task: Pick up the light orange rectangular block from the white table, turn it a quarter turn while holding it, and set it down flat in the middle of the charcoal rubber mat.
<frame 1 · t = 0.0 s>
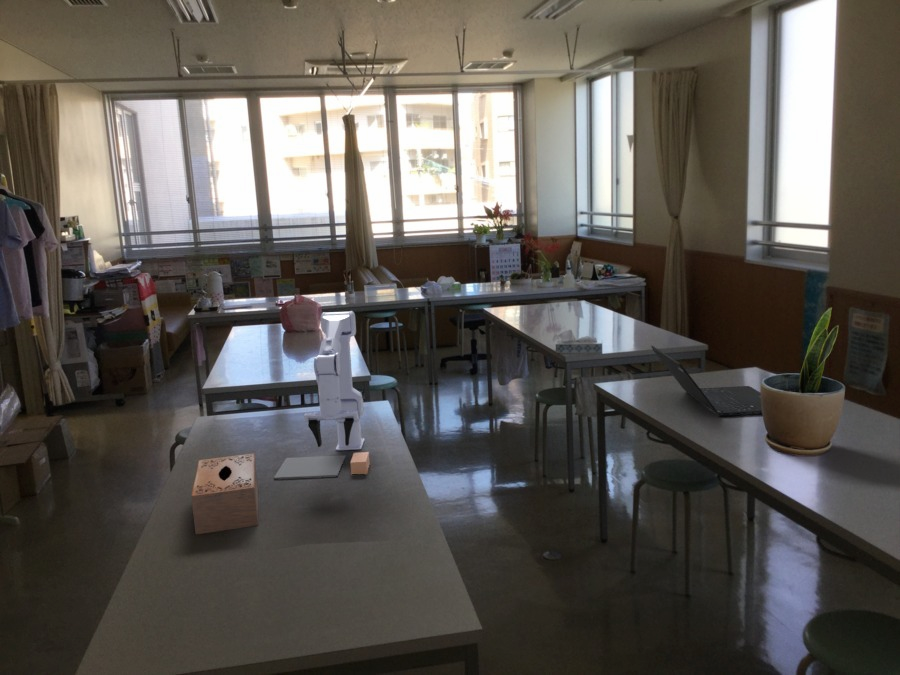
hand: (333, 445, 203), 10 cm above the table, tool pointing down, fingers open, 7 cm apart
laptop: (716, 404, 259), on the table
mat: (311, 468, 214), on the table
light orange rectangular block: (360, 470, 211), on the table
potted plant: (799, 448, 212), on the table
tissue box cover: (229, 510, 188), on the table
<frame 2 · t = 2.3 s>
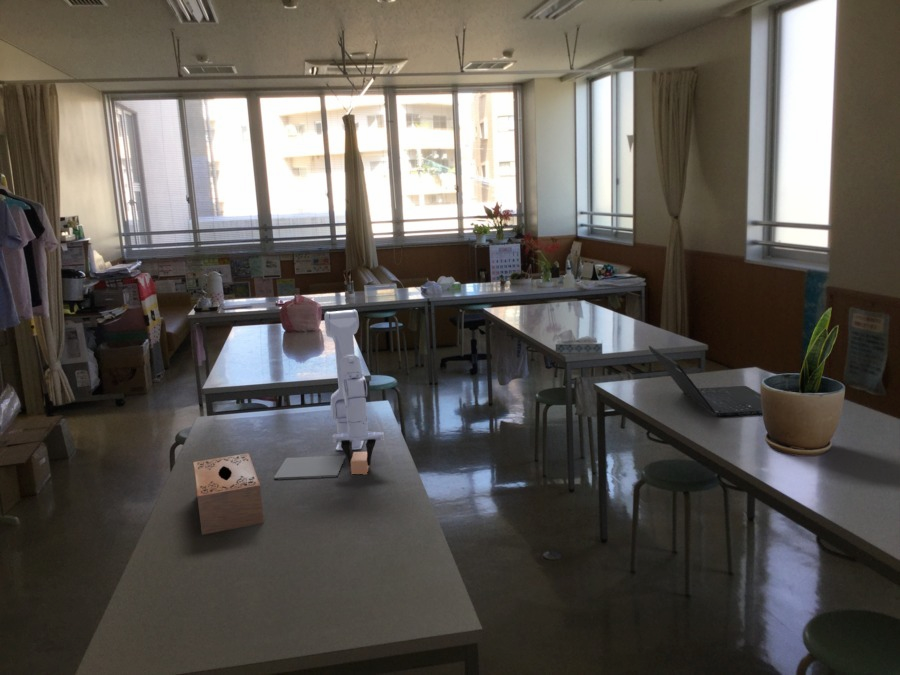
hand: (360, 464, 211), 1 cm above the table, tool pointing down, fingers closed on light orange rectangular block, 4 cm apart
light orange rectangular block: (360, 469, 211), on the table, touching gripper
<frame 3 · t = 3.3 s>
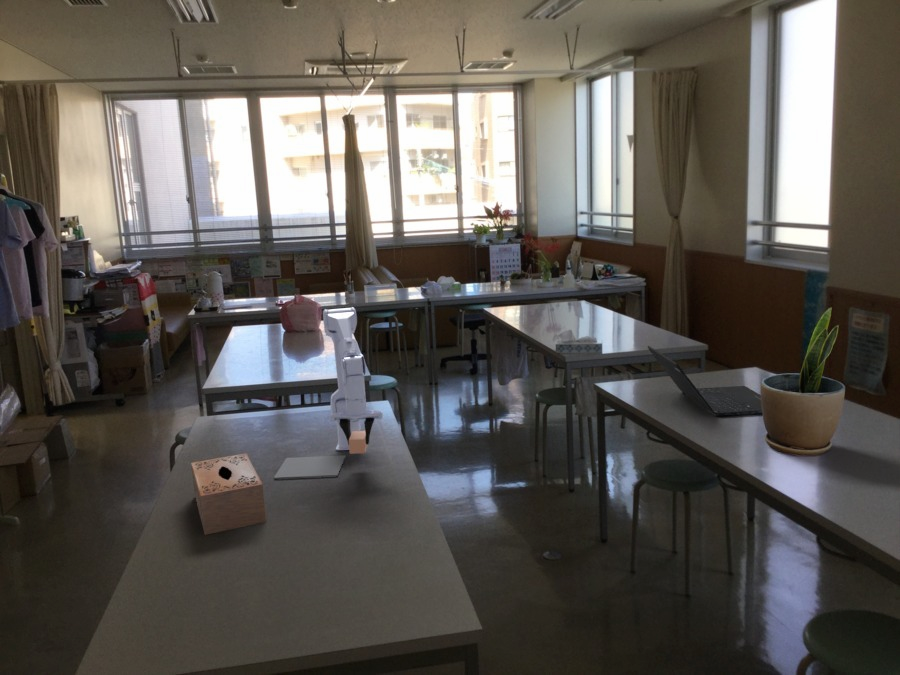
hand: (358, 443, 210), 8 cm above the table, tool pointing down, fingers closed on light orange rectangular block, 4 cm apart
light orange rectangular block: (359, 448, 210), point 6 cm above the table, touching gripper
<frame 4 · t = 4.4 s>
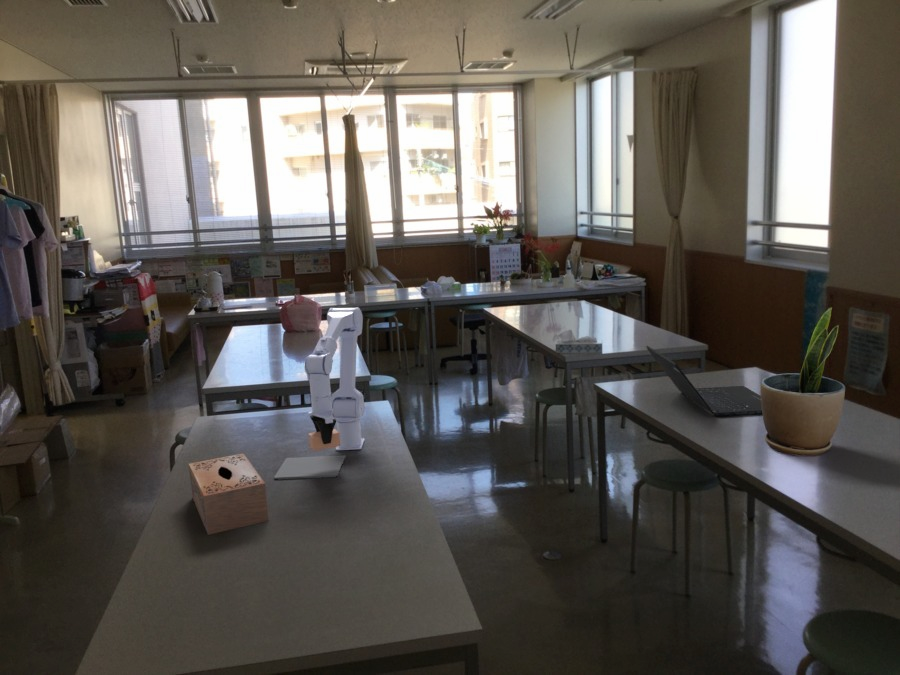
hand: (324, 441, 212), 8 cm above the table, tool pointing down, fingers closed on light orange rectangular block, 4 cm apart
light orange rectangular block: (324, 446, 212), point 7 cm above the table, touching gripper
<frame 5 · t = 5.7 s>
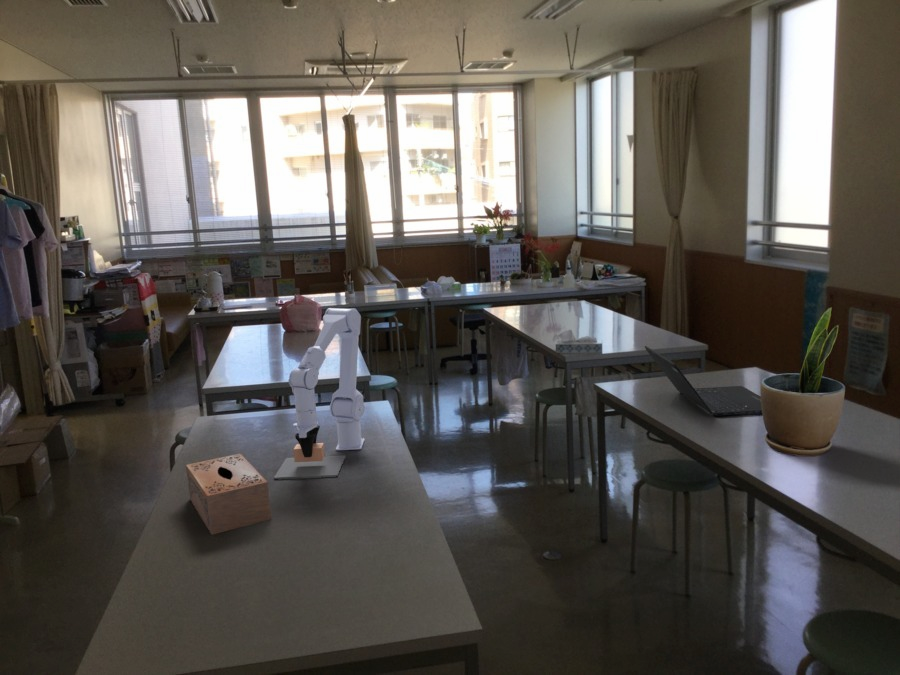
hand: (309, 453, 214), 4 cm above the table, tool pointing down, fingers closed on light orange rectangular block, 4 cm apart
light orange rectangular block: (309, 459, 214), point 3 cm above the table, touching gripper
when the fingers open (3 cm above the table, at t = 6.8 s): light orange rectangular block stays where it is, resting on mat.
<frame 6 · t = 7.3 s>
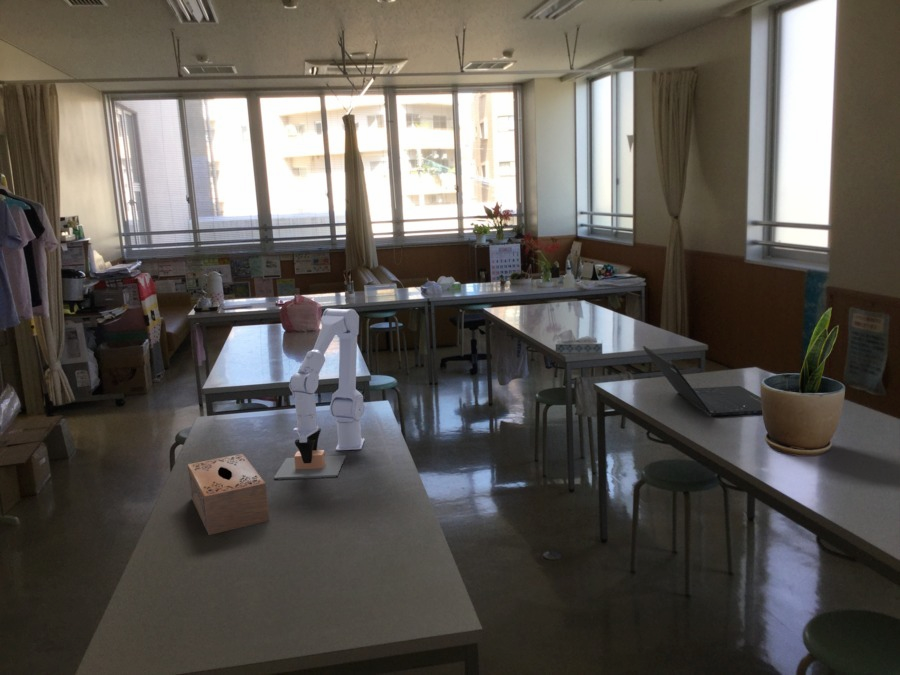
hand: (310, 458, 214), 3 cm above the table, tool pointing down, fingers open, 7 cm apart
light orange rectangular block: (310, 466, 214), point 1 cm above the table, touching mat
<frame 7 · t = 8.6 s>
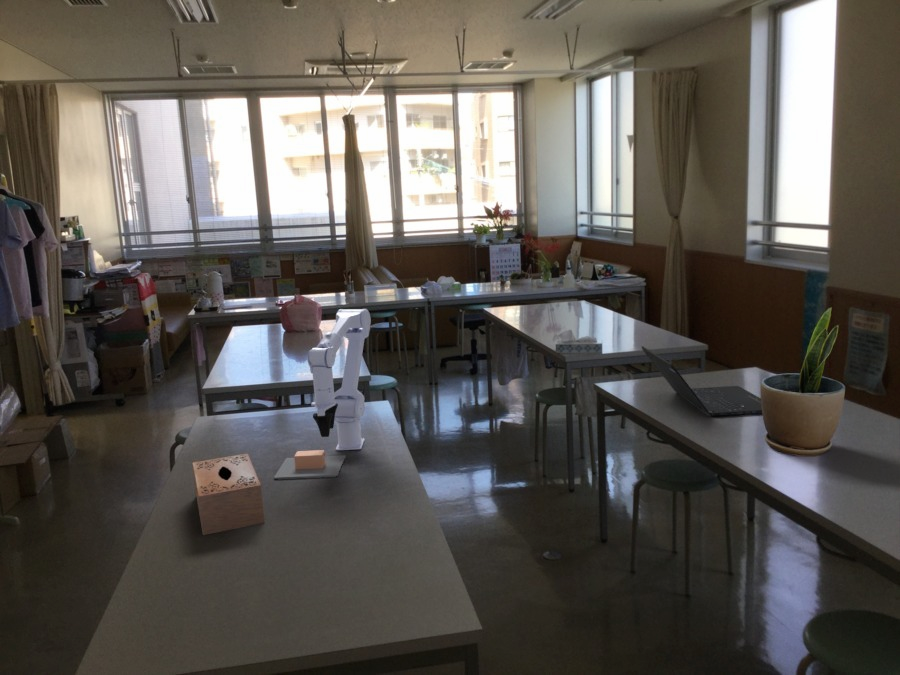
hand: (327, 432, 217), 9 cm above the table, tool pointing down, fingers open, 7 cm apart
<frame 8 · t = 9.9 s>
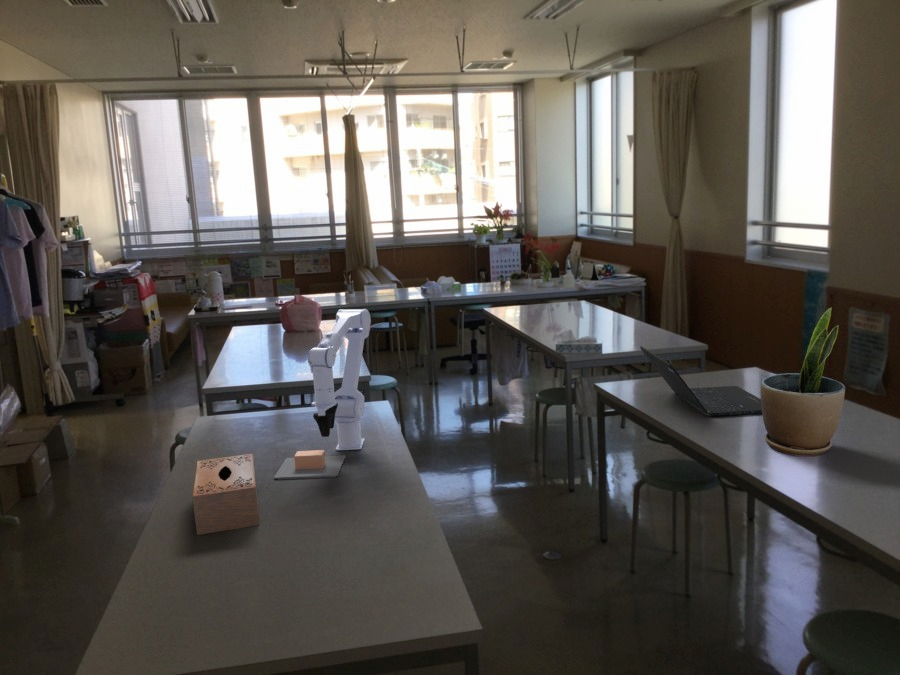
hand: (327, 432, 217), 9 cm above the table, tool pointing down, fingers open, 7 cm apart
at the end: light orange rectangular block inside the target area on the mat (0.1 cm from its centre), point 0.6 cm above the mat's base; light orange rectangular block tilted 0°; the gripper is holding nothing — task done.
